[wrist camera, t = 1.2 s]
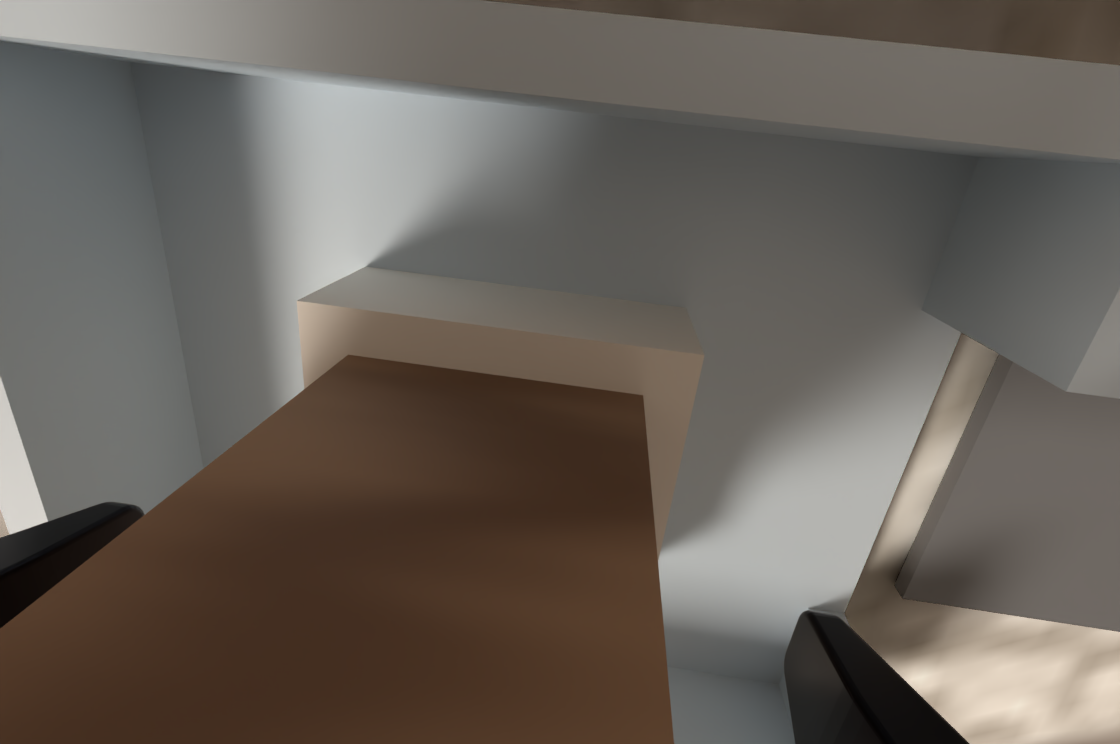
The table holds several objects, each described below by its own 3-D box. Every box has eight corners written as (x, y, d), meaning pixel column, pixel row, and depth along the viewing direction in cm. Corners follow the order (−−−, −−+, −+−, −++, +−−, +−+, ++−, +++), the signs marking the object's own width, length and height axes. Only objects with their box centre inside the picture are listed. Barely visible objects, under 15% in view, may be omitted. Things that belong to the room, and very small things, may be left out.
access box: (1028, 108, 9) (1320, 85, 5) (795, 690, 14) (857, 881, 11) (105, 9, 10) (-213, -71, 6) (216, 595, 15) (86, 742, 11)
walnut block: (643, 395, 8) (691, 926, 3) (602, 618, 10) (579, 1214, 4) (348, 354, 8) (-170, 763, 3) (360, 579, 10) (52, 1099, 5)
